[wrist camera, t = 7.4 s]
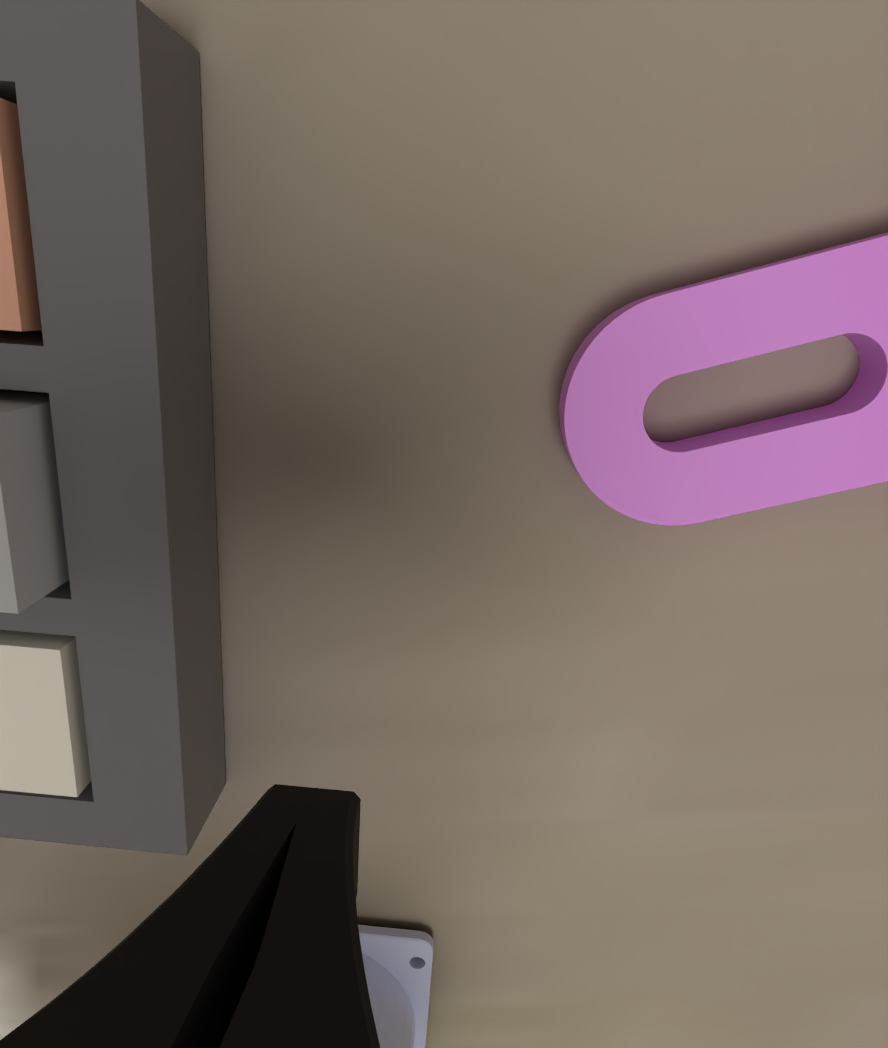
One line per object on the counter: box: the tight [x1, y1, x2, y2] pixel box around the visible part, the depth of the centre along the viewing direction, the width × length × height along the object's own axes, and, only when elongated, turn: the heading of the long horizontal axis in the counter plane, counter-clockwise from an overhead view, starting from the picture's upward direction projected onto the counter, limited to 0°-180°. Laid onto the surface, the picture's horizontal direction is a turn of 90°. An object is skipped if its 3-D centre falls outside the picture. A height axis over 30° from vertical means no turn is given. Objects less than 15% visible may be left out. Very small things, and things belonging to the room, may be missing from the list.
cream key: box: [0, 630, 91, 797], centre depth 19 cm, size 4×4×3 cm
